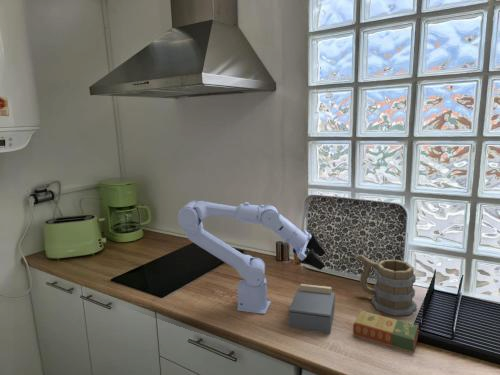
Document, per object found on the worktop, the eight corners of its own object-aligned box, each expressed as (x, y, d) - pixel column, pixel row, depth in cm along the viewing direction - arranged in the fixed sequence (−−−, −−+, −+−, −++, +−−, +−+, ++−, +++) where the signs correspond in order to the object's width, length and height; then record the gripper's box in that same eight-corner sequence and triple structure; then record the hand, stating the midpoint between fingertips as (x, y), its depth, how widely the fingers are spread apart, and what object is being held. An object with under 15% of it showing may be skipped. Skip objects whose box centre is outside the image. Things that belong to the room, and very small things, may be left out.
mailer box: (289, 327, 106) (289, 312, 105) (297, 304, 119) (297, 290, 118) (330, 333, 102) (330, 317, 101) (334, 309, 115) (334, 295, 114)
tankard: (420, 304, 117) (423, 261, 114) (405, 320, 108) (407, 274, 105) (363, 286, 130) (364, 247, 128) (346, 299, 122) (346, 257, 119)
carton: (360, 322, 108) (361, 309, 108) (418, 337, 100) (419, 323, 99) (352, 336, 101) (353, 322, 101) (414, 354, 93) (414, 339, 92)
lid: (289, 311, 105) (289, 303, 105) (297, 289, 118) (297, 283, 118) (330, 316, 101) (330, 309, 101) (334, 294, 114) (334, 287, 114)
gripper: (297, 237, 105) (331, 266, 106) (301, 216, 118) (332, 241, 119) (281, 252, 108) (315, 279, 109) (287, 229, 121) (317, 254, 122)
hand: (323, 260), depth 114 cm, fingers open, 7 cm apart
